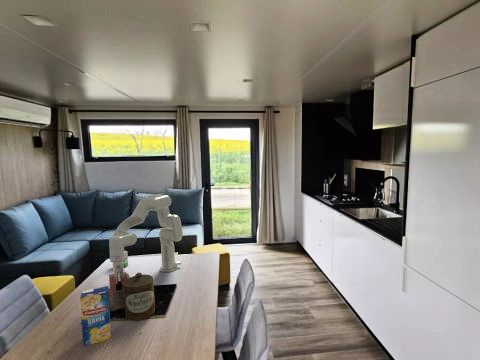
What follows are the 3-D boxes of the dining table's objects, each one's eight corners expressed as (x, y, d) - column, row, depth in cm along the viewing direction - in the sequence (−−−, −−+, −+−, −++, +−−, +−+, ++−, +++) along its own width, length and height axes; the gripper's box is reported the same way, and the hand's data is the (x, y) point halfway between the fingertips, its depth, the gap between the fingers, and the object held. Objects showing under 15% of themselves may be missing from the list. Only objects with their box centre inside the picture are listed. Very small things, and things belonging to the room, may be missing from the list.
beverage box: (84, 337, 120) (81, 291, 118) (110, 330, 125) (108, 285, 123) (82, 346, 114) (80, 298, 112) (110, 338, 119) (108, 292, 117)
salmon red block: (126, 289, 154) (125, 271, 153) (127, 292, 150) (126, 273, 150) (109, 293, 149) (108, 275, 149) (110, 296, 146) (109, 277, 145)
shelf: (128, 288, 167) (128, 271, 166) (134, 304, 147) (133, 285, 146) (108, 293, 161) (107, 276, 160) (110, 311, 141) (109, 291, 140)
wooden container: (126, 324, 129) (124, 281, 127) (124, 309, 142) (122, 270, 140) (157, 316, 136) (155, 275, 134) (152, 302, 149) (151, 265, 147)
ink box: (128, 265, 205) (127, 250, 204) (125, 267, 200) (124, 252, 199) (118, 265, 206) (117, 250, 205) (114, 267, 201) (113, 252, 200)
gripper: (126, 260, 143) (127, 292, 144) (122, 252, 158) (124, 281, 159) (111, 263, 139) (112, 296, 141) (108, 254, 154) (110, 284, 155)
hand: (118, 288), depth 150 cm, fingers closed on salmon red block, 4 cm apart
